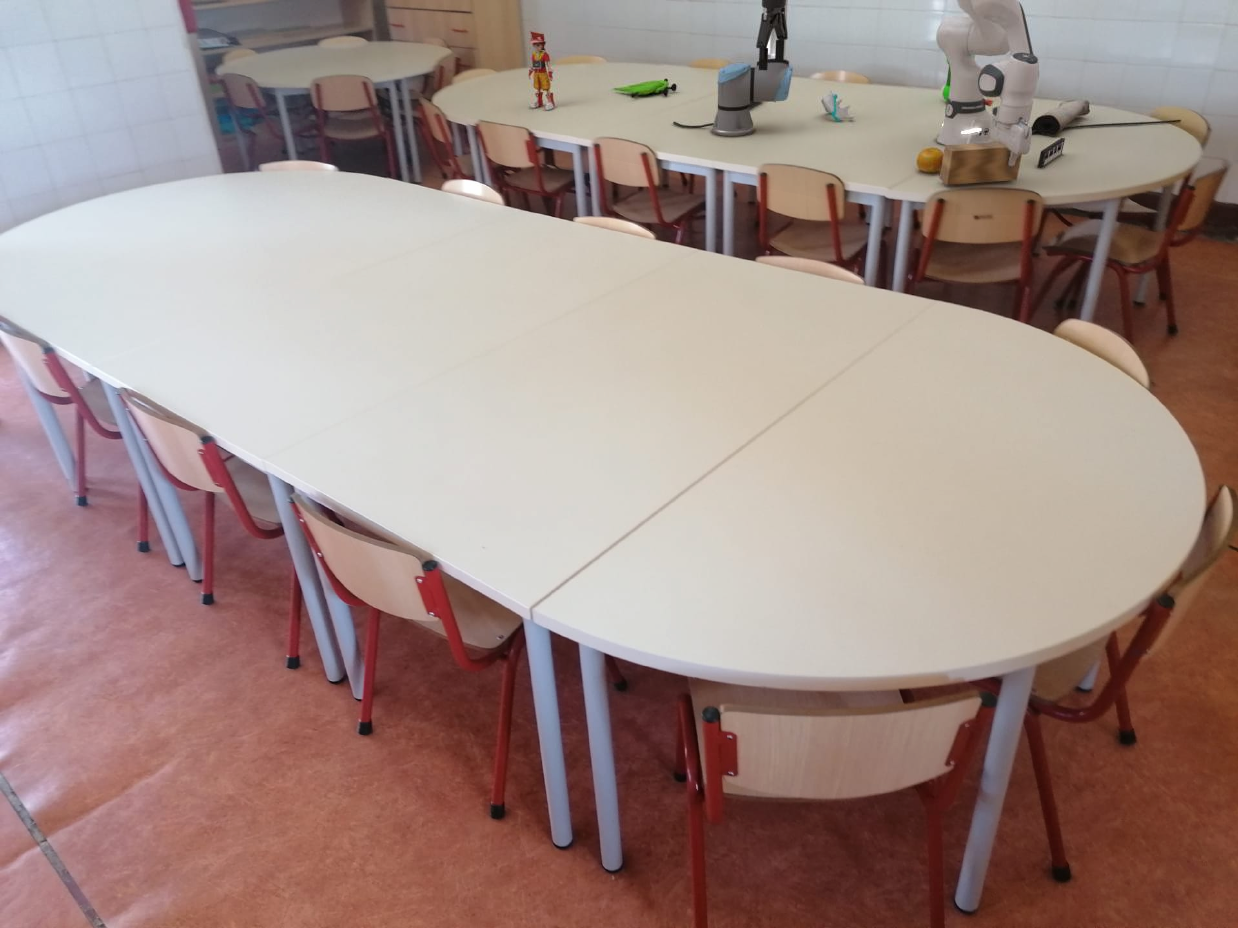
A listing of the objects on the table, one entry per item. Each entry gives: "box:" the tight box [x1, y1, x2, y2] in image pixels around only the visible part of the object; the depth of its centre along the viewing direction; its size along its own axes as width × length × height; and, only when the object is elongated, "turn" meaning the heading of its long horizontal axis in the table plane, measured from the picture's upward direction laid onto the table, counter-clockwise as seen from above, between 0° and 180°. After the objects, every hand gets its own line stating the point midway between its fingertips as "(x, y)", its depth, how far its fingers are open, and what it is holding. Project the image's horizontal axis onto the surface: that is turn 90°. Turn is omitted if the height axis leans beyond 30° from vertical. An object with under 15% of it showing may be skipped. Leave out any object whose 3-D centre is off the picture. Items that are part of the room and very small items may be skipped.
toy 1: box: [527, 31, 556, 111], centre depth 374 cm, size 12×9×30 cm
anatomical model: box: [820, 90, 855, 122], centre depth 343 cm, size 15×10×10 cm
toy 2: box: [612, 78, 677, 99], centre depth 396 cm, size 28×5×30 cm
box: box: [939, 142, 1023, 186], centre depth 271 cm, size 22×6×10 cm, turn 94°
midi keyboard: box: [1037, 137, 1066, 168], centre depth 287 cm, size 18×1×5 cm, turn 138°
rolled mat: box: [1030, 99, 1091, 137], centre depth 319 cm, size 30×9×10 cm
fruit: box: [916, 147, 944, 174], centre depth 284 cm, size 8×8×8 cm
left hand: (771, 66), depth 293 cm, fingers open, 13 cm apart
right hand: (1005, 161), depth 271 cm, fingers closed on box, 6 cm apart
